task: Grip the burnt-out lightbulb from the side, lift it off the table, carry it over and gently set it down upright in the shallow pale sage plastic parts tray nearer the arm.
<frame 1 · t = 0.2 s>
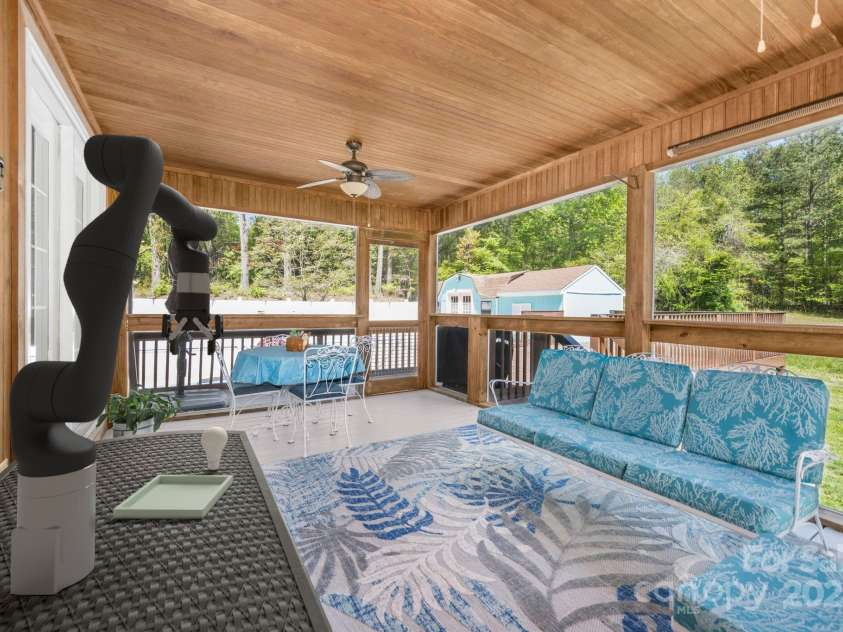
hand: (192, 355, 110), 29 cm above the table, tool pointing down, fingers open, 8 cm apart
lightbulb: (213, 470, 109), on the table
parts tray: (178, 498, 93), on the table
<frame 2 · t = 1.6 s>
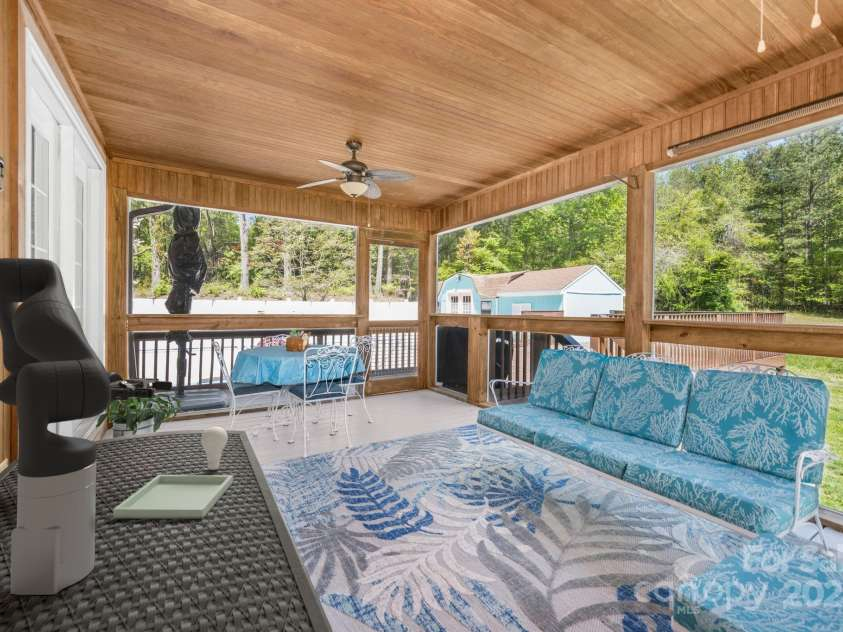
hand: (162, 389, 107), 20 cm above the table, tool horizontal, fingers open, 8 cm apart
nothing on the table moved.
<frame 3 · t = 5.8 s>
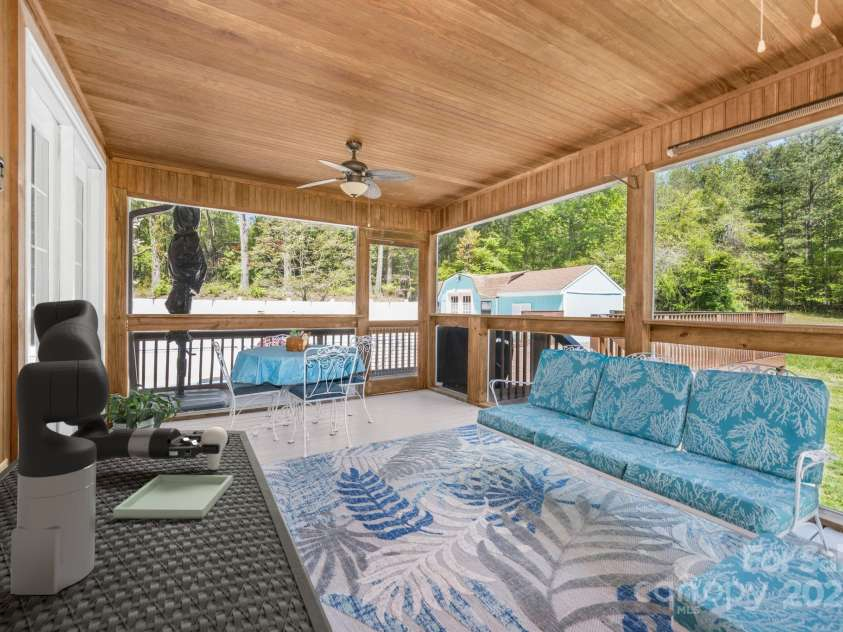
hand: (224, 444, 109), 7 cm above the table, tool horizontal, fingers closed on lightbulb, 6 cm apart
lightbulb: (213, 470, 109), on the table, touching gripper
when the fingers open (7 cm above the table, at t = 12.9 s): lightbulb stays where it is, resting on parts tray.
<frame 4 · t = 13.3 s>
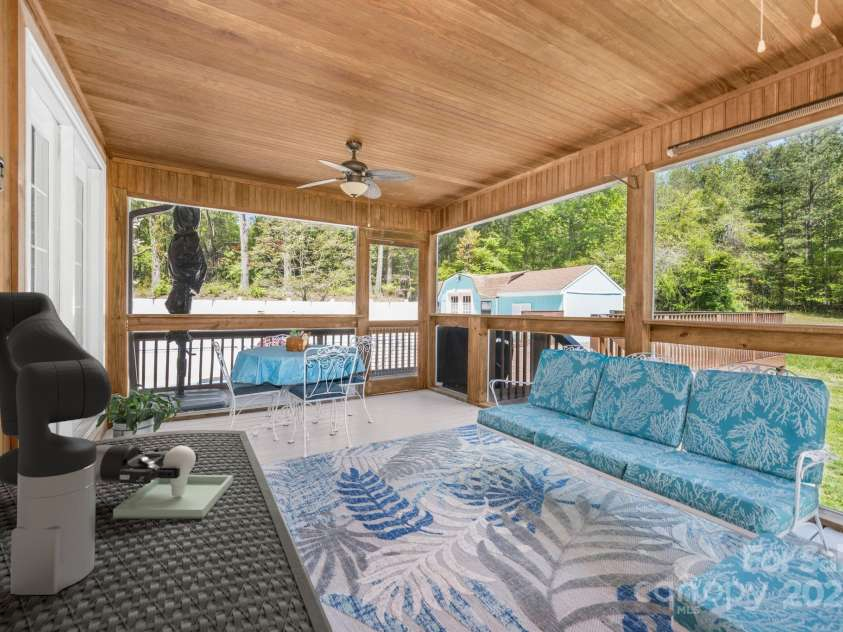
hand: (188, 464, 93), 8 cm above the table, tool horizontal, fingers open, 8 cm apart
lightbulb: (178, 497, 93), resting on parts tray
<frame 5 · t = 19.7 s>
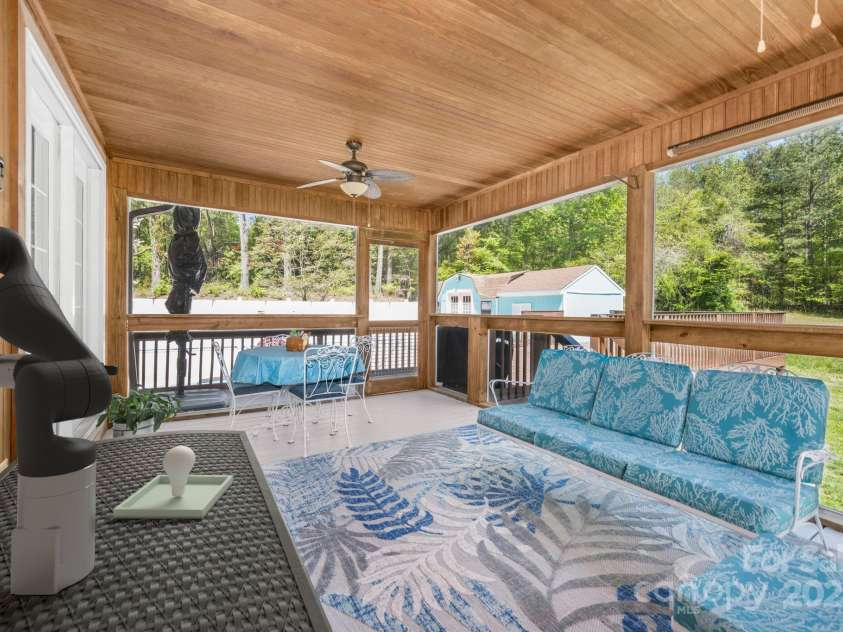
hand: (105, 373, 95), 26 cm above the table, tool horizontal, fingers open, 8 cm apart
nothing on the table moved.
at the end: lightbulb inside the target area on the parts tray (0.1 cm from its centre), point 0.2 cm above the parts tray's base; lightbulb tilted 0°; the gripper is holding nothing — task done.
